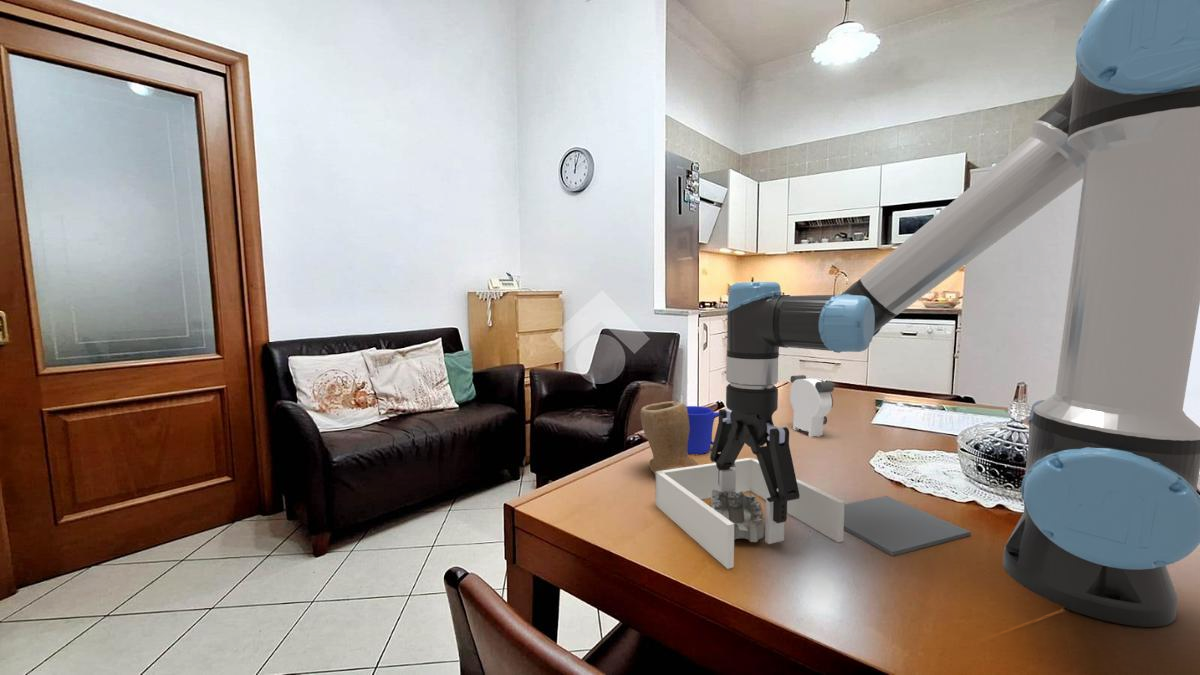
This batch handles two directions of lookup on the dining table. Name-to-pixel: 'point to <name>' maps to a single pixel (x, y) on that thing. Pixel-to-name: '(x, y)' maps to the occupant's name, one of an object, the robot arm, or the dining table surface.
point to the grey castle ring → (740, 513)
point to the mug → (700, 429)
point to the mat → (897, 525)
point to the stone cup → (667, 435)
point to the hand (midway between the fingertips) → (749, 523)
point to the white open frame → (711, 529)
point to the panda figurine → (810, 403)
